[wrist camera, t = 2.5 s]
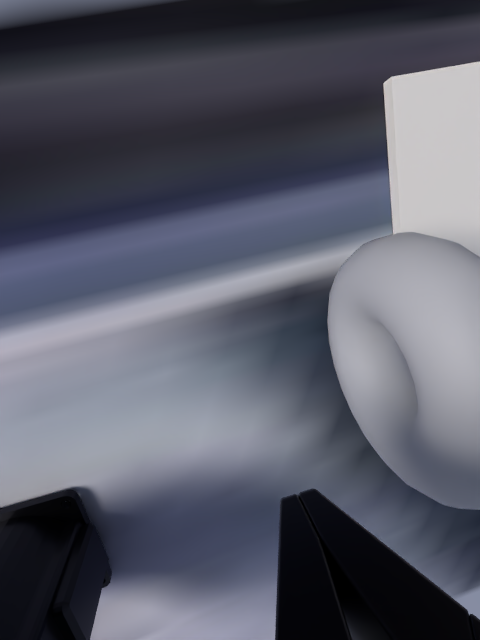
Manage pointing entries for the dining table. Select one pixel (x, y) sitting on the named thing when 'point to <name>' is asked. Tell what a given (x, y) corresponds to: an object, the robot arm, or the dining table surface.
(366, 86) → the dining table surface
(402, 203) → the placemat
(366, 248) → the donut
